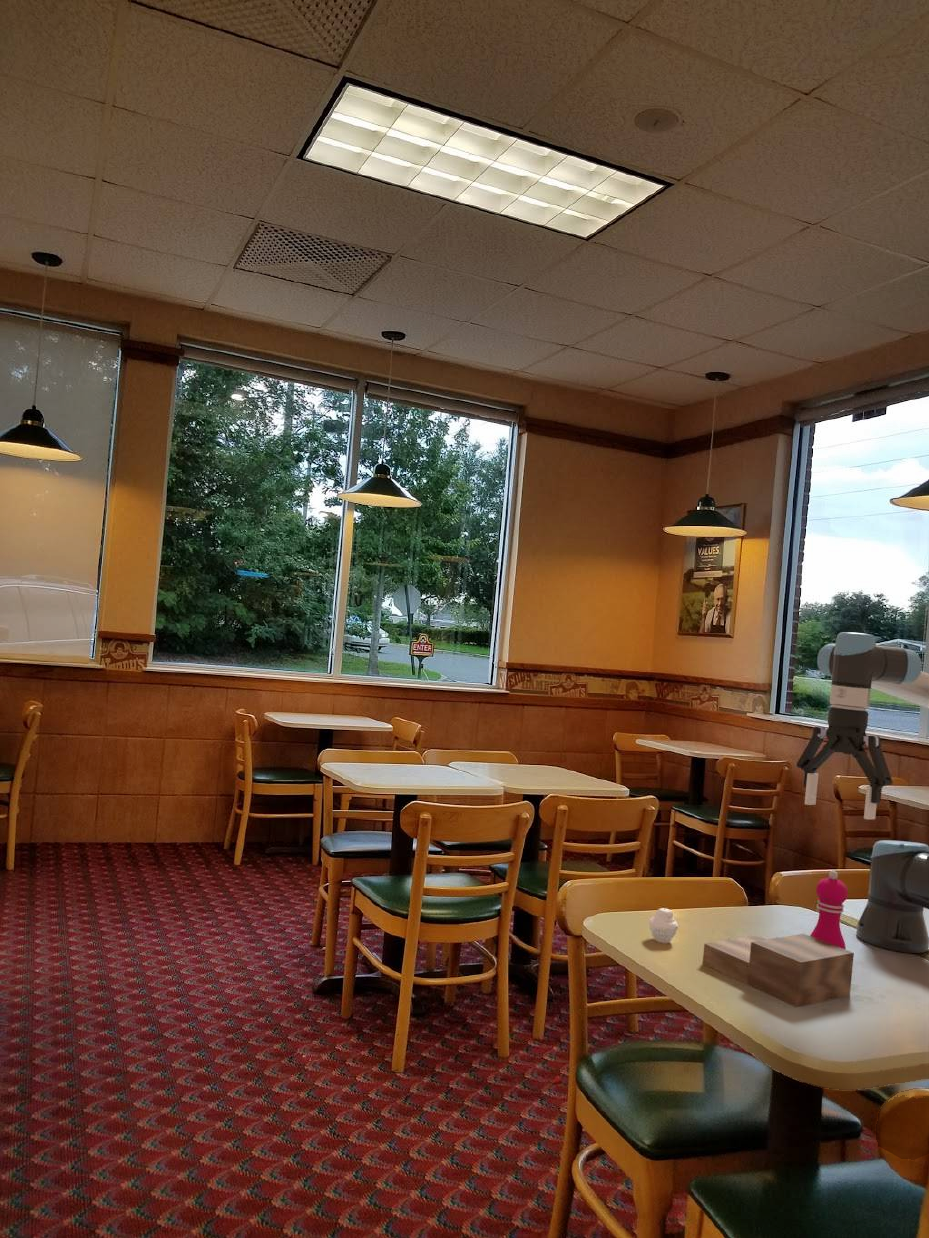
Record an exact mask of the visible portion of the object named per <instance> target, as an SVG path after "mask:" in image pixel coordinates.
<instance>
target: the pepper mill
mask: <svg viewBox="0 0 929 1238" xmlns="http://www.w3.org/2000/svg"><path fill="white" fill-rule="evenodd" d="M838 878H839V874H838V872H836V871H835V870H831V871H830V872H828V877H824V878H822V879H820V880H819V881H818V883H817V884H816V887H815V894H816V896H817V897H818V898H819V899H818V900H817V905H816V908H818V919H817V922H816V925H815V927H814V928H813V930H812V932H811V933H810V935H809V936H811V937H814V938H816V939H819V940H822V941H824V942H827V943H830V944H832V945H835V946H837V947H840V948H843V949H845V950H847V949H846V943H845V939H844V936H843V934H842V931H841V923H840V922H841V915H842V913H844V908H845V905H844V904H843V903H844V902H845V901H846V900H847V899H848V896H849V895H848V894H849V893H848V891H849V890H848V888H847V886H846V884H845V883H844V882H843V881H841V880H840V879H838Z"/></svg>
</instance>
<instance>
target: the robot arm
mask: <svg viewBox="0 0 929 1238" xmlns="http://www.w3.org/2000/svg"><path fill="white" fill-rule="evenodd" d="M816 659H817V660H816V663H817V667H818V669H819V671H820V672H821V673H822V674H823V675H824V676H828V677H831V685H830V693H829V694H830V696H829V704H830V705H832V706H830V707H829V708H828V714H827V715H828V716H827V725H828V727H827V729H826V727H824V726H814V727H813V731H812V736H811V738H810V740H809V741H808V743H807V745H806V747H805V748H804V750H803V752H802V754H801V756H800V757H799V759H798V760H797V763H796V767H797V768H798V769H801V770H802V771H803V772H804V776H803V788H805V796H804V805H807V806H815V805H816V803H817V792H818V784H819V773H818V772H817V770H818V769H820V767H821V766H822V765H823V764H824V763H825V762H826V761H828V759H829V758H830V757H831V756H832V755H833V754H835V753H843V754H845V755H851V756H852V757H853V758H854V759H855V760H856V761H857V763H858V766H859V767H860V769H862V770H861V771H863V773H864V775H865V777H866V778H867V780H868V782H869V785H866V790H865V791H866V792H865V799H864V800H865V802H864V810H863V812H864V813H863V814H864V815H863V819H864V820H876V814H877V813H876V812H877V804H880V803H881V801H882V799H881V798H882V792H883V791H882V789H883V787H887V786H892V785H893V782H894V781H893V779H892V776H891V773H890V769H889V768H888V764H887V762H886V759H885V755H884V752H883V750H882V745H881V744H882V742H881V741H882V739H881V736H879V735H869V736H868V735H867V733H866V730H867V728H868V721H869V712H868V711H867V709H869V708H870V703H871V700H870V699H871V692H872V689H873V690H876V691H879V692H882V693H884V694H888V695H890V696H893V697H895V698H899V699H900V700H904V701H907V702H909V703H912V704H914V705H918V706H921V707H923V708H926V709H929V673H928V672H925V671H923V670H922V664H923V663H922V660H921V657H920V655H918V653H916V651H914V650H912V649H907V648H905V647H894V646H888V645H887V646H885V645H877V643H876V637H875V635H873V634H868V633H861V632H851V631H850V632H846V631H845V632H843V631H841V632H839V633H838V634H837V635H836V638H835V643H827V644H825V645H824V646H822V647H821V649H820V650H819V652H818V655H817V658H816ZM825 738H827V740H828V741H827V742H826V743H825V744H824V745H823V746H822V748H821V749H820V747H821V745H822V744H823V742H824V739H825ZM864 745H866V746H867V748H868V752H867V750H866V748H865V747H864ZM819 749H820V751H819V752H818V750H819ZM868 753H869V755H870V757H871V760H872V761H871V760H870V758H869V756H868ZM869 867H870V868H869V880H868V895H867V901H866V905H865V907H864V910H862V913H861V916H860V918H859V920H858V921H857V925H856V933H855V934H856V936H857V937H858V938H859V939H860V940H862V941H864V942H866V943H868V944H871V945H872V946H875V947H879V948H883V949H885V950H890V951H895V952H902V953H911V954H921V953H923V954H924V953H926V951H927V950H928V948H929V934H928V933H929V932H928V928H927V924H926V921H925V917H924V916H925V915H924V909H927V910H929V845H928V844H925V843H922V842H921V843H920V842H914V841H904V840H889V839H888V840H886V839H885V840H878V841H876V842H875V843H874V844H873V846H872V853H871V856H870V866H869ZM928 951H929V950H928ZM928 951H927V952H928Z"/></svg>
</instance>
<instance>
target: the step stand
mask: <svg viewBox="0 0 929 1238" xmlns="http://www.w3.org/2000/svg"><path fill="white" fill-rule="evenodd" d="M854 955H855V952H853V951H850V950H847V949H846V950H845V949H843V948H840V947H837V946H835V945H832V944H830V943H827V942H824V941H822V940H819V939H816V938H814V937H811V936H810V935H808V934H805V933H800V934H791V935H786V936H781V937H774V938H767V939H766V938H765V937H761V936H759V935H751V936H744V937H739V938H731V939H726V940H724V939H723V940H717V941H712V942H706V943H703V954H702V956H703V957H702V964H703V965H705V966H707V967H709V968H711V969H714V970H715V971H717V972H720V973H722V974H724V975H727V976H729V977H731V978H733V979H735V980H737V981H739V982H741V983H744V984H746V985H748V986H750V987H752V988H755V989H757V990H759V991H761V992H763V993H765V994H767V995H770V996H772V997H774V998H776V999H779V1000H780V1001H782V1002H785V1003H787V1004H790V1005H791V1006H793V1007H795V1008H799V1007H803V1006H808V1005H813V1004H817V1003H821V1002H822V1003H823V1002H827V1001H830V1000H834V999H839V998H844V997H849V996H851V989H852V988H851V986H852V976H853V968H854V967H853V965H854V957H855V956H854Z"/></svg>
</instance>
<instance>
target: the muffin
mask: <svg viewBox="0 0 929 1238" xmlns="http://www.w3.org/2000/svg"><path fill="white" fill-rule="evenodd" d="M648 925H649V930H650V932H651V935H652V937H653V940H654V941H655V940H656V941H655V942H657V941H658V942H657V943H660V942H662V943H661V944H670V943H671V941H672V940H673V938H674V937H675V935H676V934H677V931H678V929H679V924H678V922H677V920H675V917H674V913H673V912H672V910H671V909H668V908H666V907H664V908H663V907H661V908H658V909H657V910H656V912H655V914H654V915H653V916H652V917H650V919H649V920H648Z"/></svg>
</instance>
